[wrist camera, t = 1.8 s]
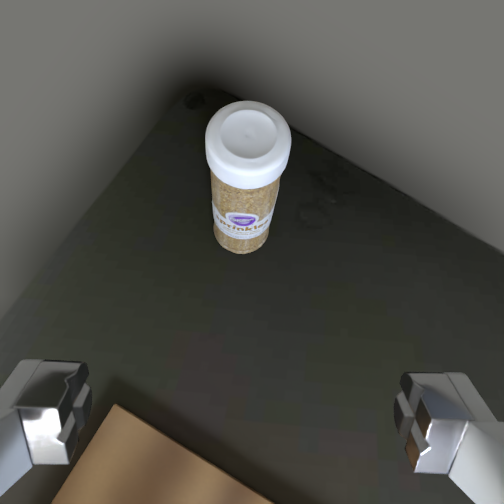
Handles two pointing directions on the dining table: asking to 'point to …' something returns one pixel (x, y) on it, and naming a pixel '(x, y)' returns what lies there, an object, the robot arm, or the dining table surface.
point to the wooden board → (147, 470)
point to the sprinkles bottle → (245, 171)
